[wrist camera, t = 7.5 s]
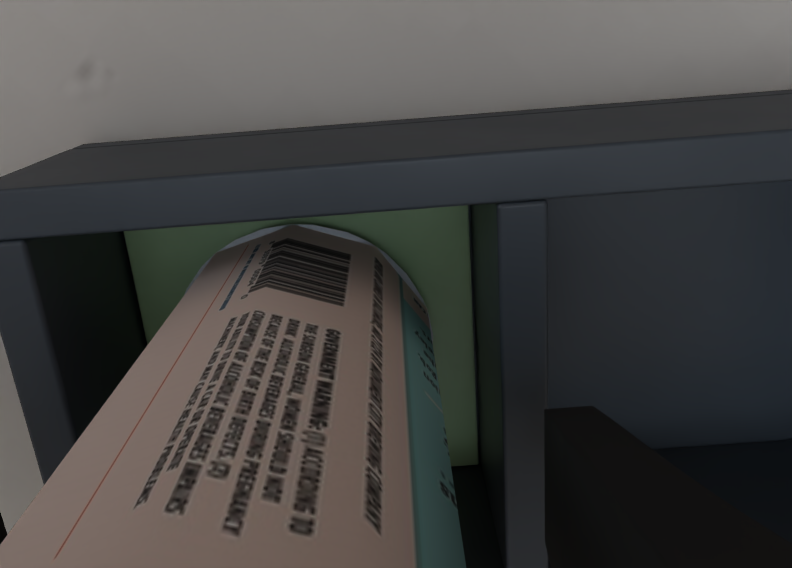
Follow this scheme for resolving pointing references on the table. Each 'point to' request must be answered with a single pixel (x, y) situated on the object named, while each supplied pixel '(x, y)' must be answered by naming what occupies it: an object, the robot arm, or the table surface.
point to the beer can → (265, 426)
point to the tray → (460, 279)
